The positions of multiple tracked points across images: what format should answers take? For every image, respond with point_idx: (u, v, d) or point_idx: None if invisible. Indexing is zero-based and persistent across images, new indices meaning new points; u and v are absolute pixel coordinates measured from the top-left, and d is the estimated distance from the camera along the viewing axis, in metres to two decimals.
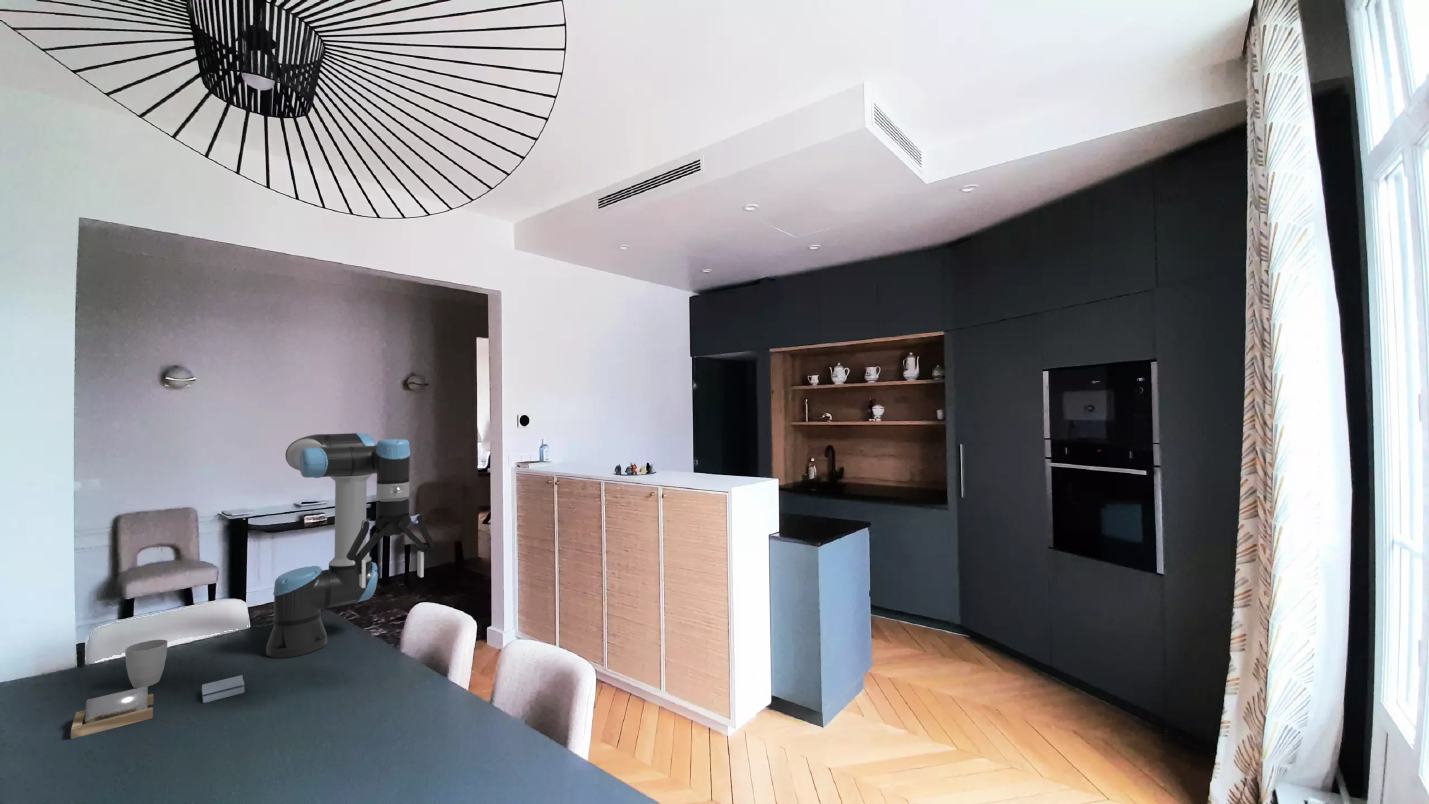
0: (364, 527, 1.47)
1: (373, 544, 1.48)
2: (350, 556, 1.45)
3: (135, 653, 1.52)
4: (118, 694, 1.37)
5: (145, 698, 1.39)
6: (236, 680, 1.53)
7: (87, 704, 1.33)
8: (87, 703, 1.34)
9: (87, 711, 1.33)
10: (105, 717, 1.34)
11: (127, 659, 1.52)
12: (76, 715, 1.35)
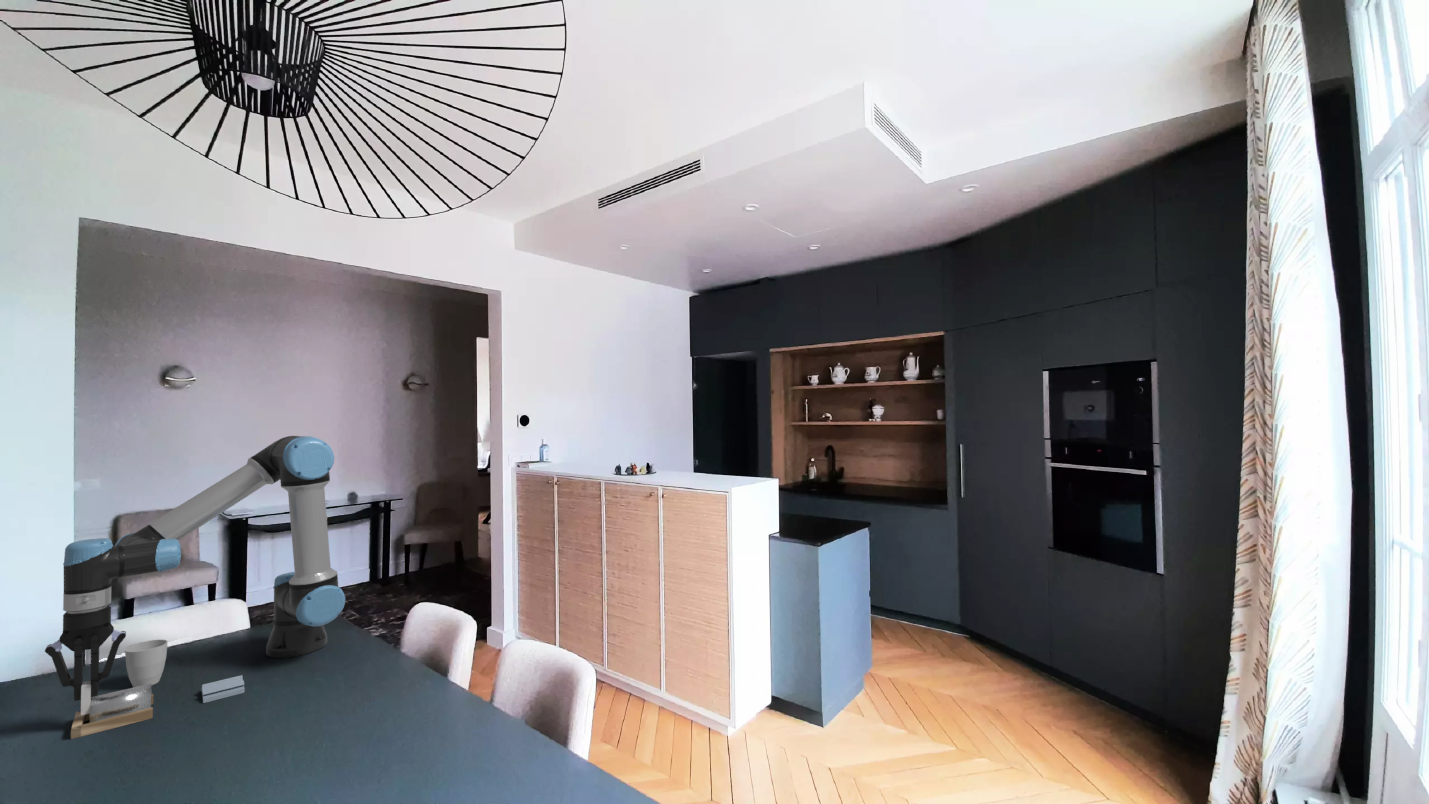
0: (50, 654, 1.30)
1: (79, 664, 1.33)
2: (63, 683, 1.31)
3: (135, 653, 1.52)
4: (122, 690, 1.39)
5: (149, 692, 1.40)
6: (236, 680, 1.53)
7: (92, 699, 1.35)
8: (92, 698, 1.35)
9: (92, 705, 1.34)
10: (109, 711, 1.35)
11: (127, 659, 1.52)
12: (76, 715, 1.35)
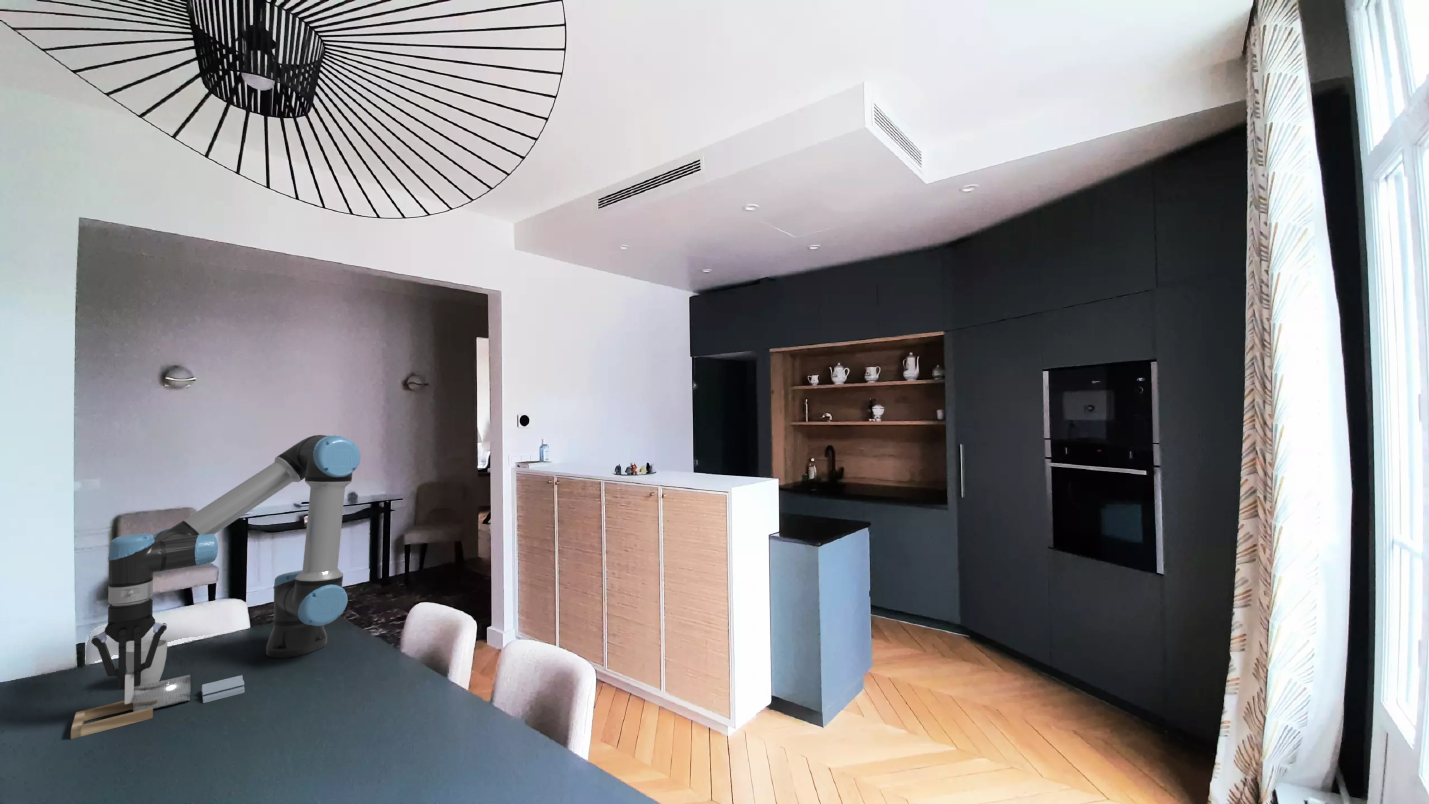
0: (96, 645, 1.35)
1: (123, 654, 1.38)
2: (108, 673, 1.36)
3: None
4: (163, 681, 1.44)
5: (188, 683, 1.45)
6: (236, 680, 1.53)
7: (135, 689, 1.40)
8: (135, 688, 1.40)
9: (135, 694, 1.39)
10: (151, 701, 1.40)
11: (127, 659, 1.52)
12: (76, 715, 1.35)
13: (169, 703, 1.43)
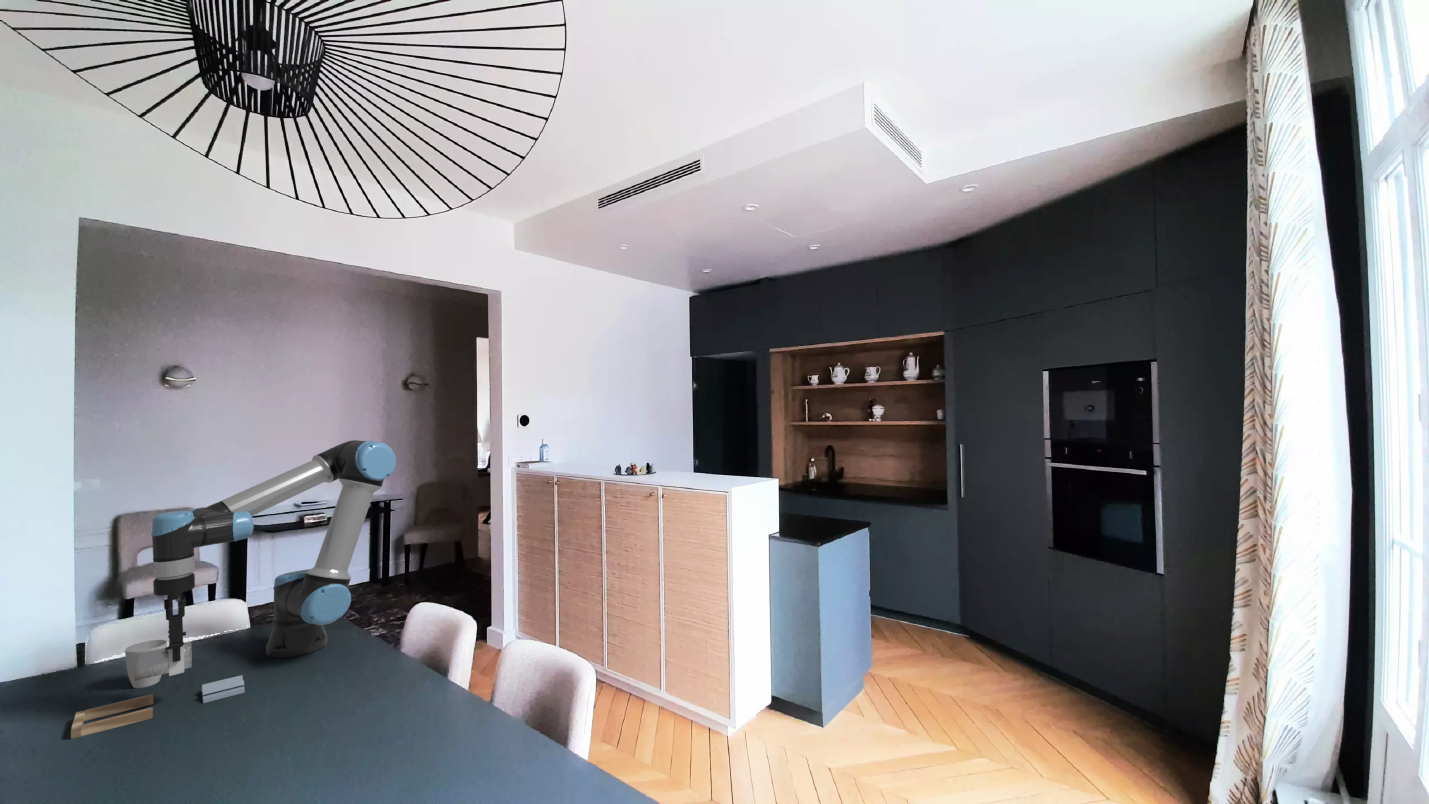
0: None
1: None
2: None
3: (135, 653, 1.52)
4: (164, 648, 1.43)
5: (190, 650, 1.45)
6: (236, 680, 1.53)
7: (136, 656, 1.39)
8: (136, 655, 1.40)
9: (136, 661, 1.38)
10: (153, 667, 1.40)
11: (127, 659, 1.52)
12: (76, 715, 1.35)
13: None
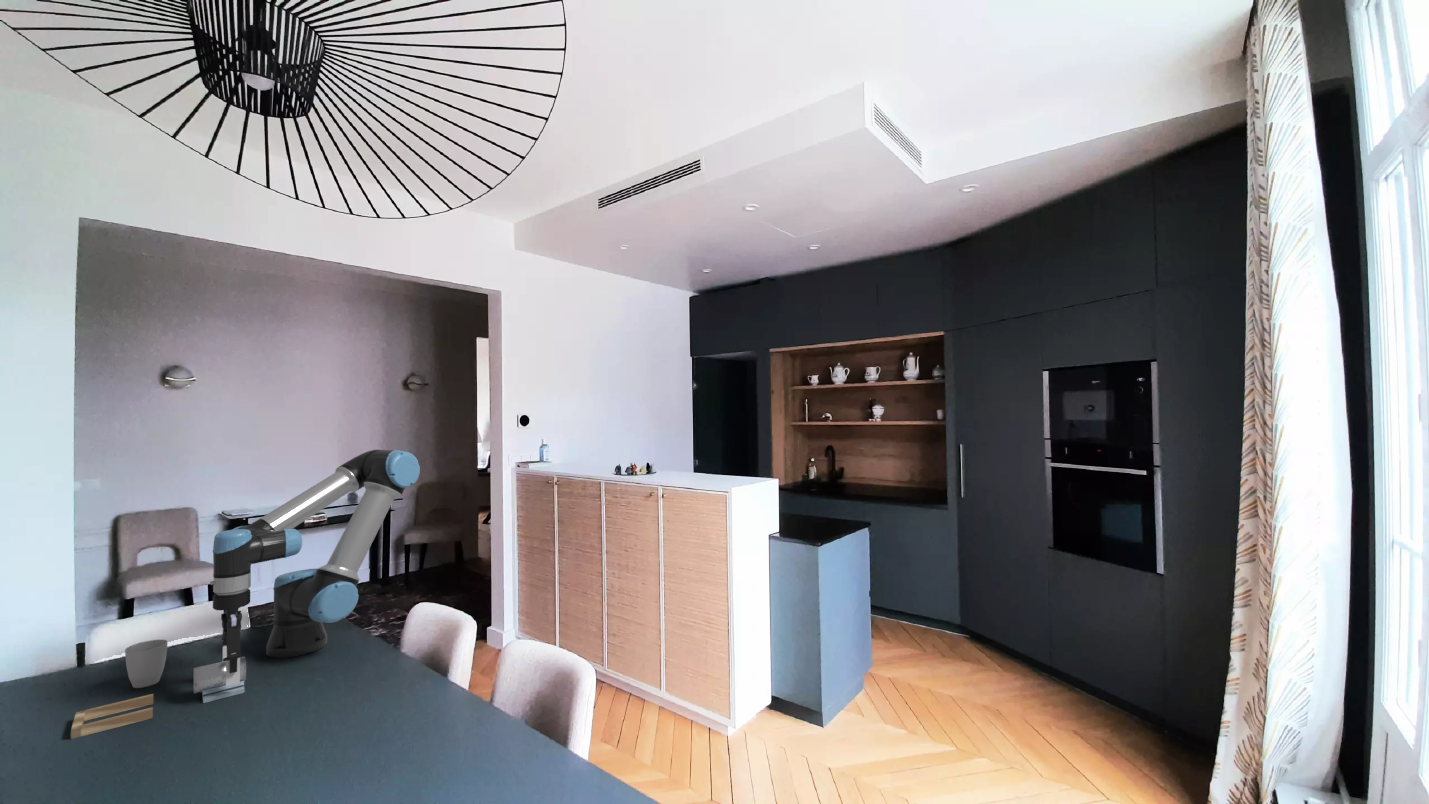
0: None
1: None
2: None
3: (135, 653, 1.52)
4: (220, 662, 1.51)
5: (244, 664, 1.52)
6: None
7: (195, 670, 1.46)
8: (195, 669, 1.47)
9: (196, 675, 1.46)
10: (211, 681, 1.47)
11: (127, 659, 1.52)
12: (76, 715, 1.35)
13: None
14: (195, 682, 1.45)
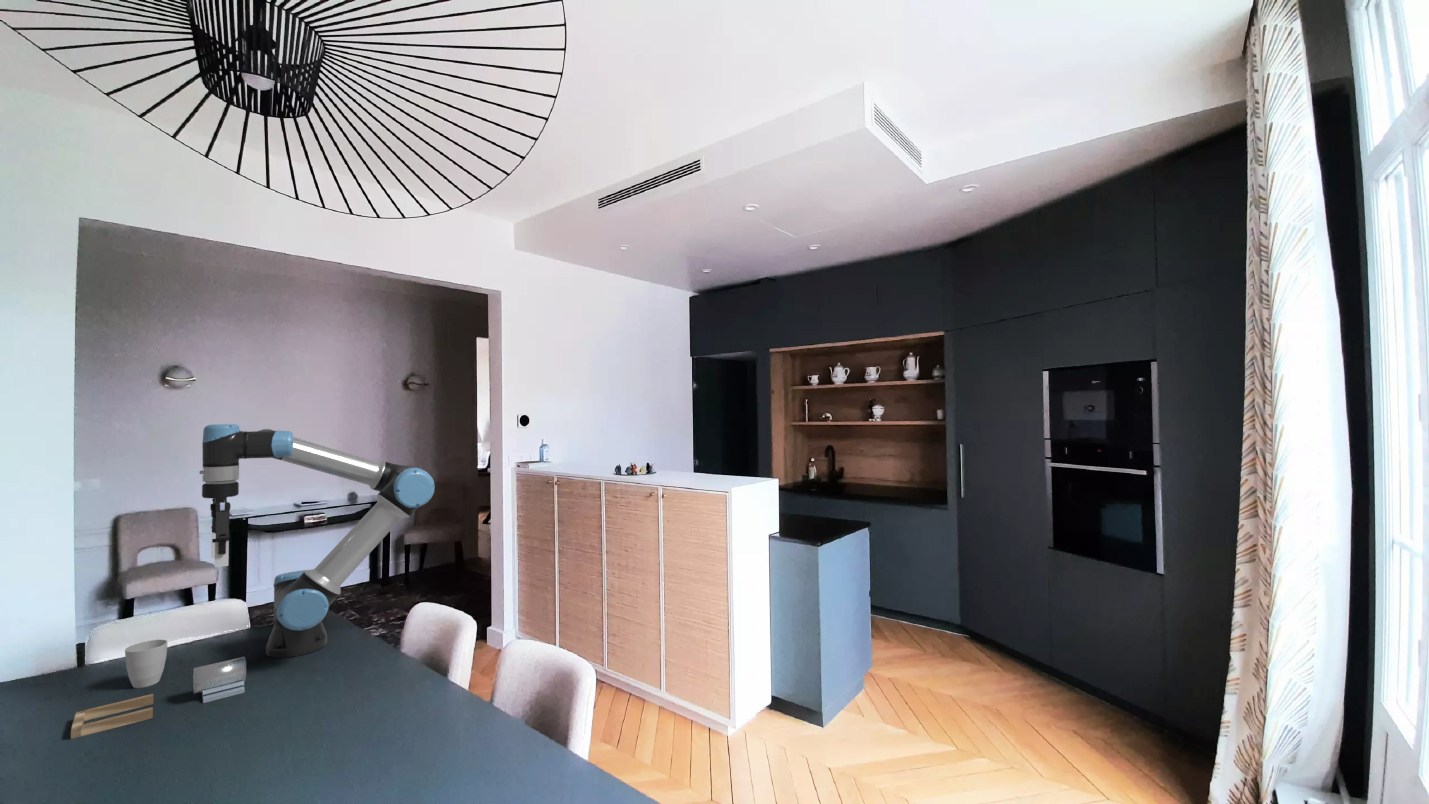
0: None
1: (213, 520, 1.60)
2: None
3: (135, 653, 1.52)
4: (220, 662, 1.51)
5: (244, 664, 1.52)
6: None
7: (195, 670, 1.46)
8: (195, 669, 1.47)
9: (195, 675, 1.46)
10: (211, 681, 1.47)
11: (127, 659, 1.52)
12: (76, 715, 1.35)
13: (227, 683, 1.50)
14: (195, 682, 1.45)
